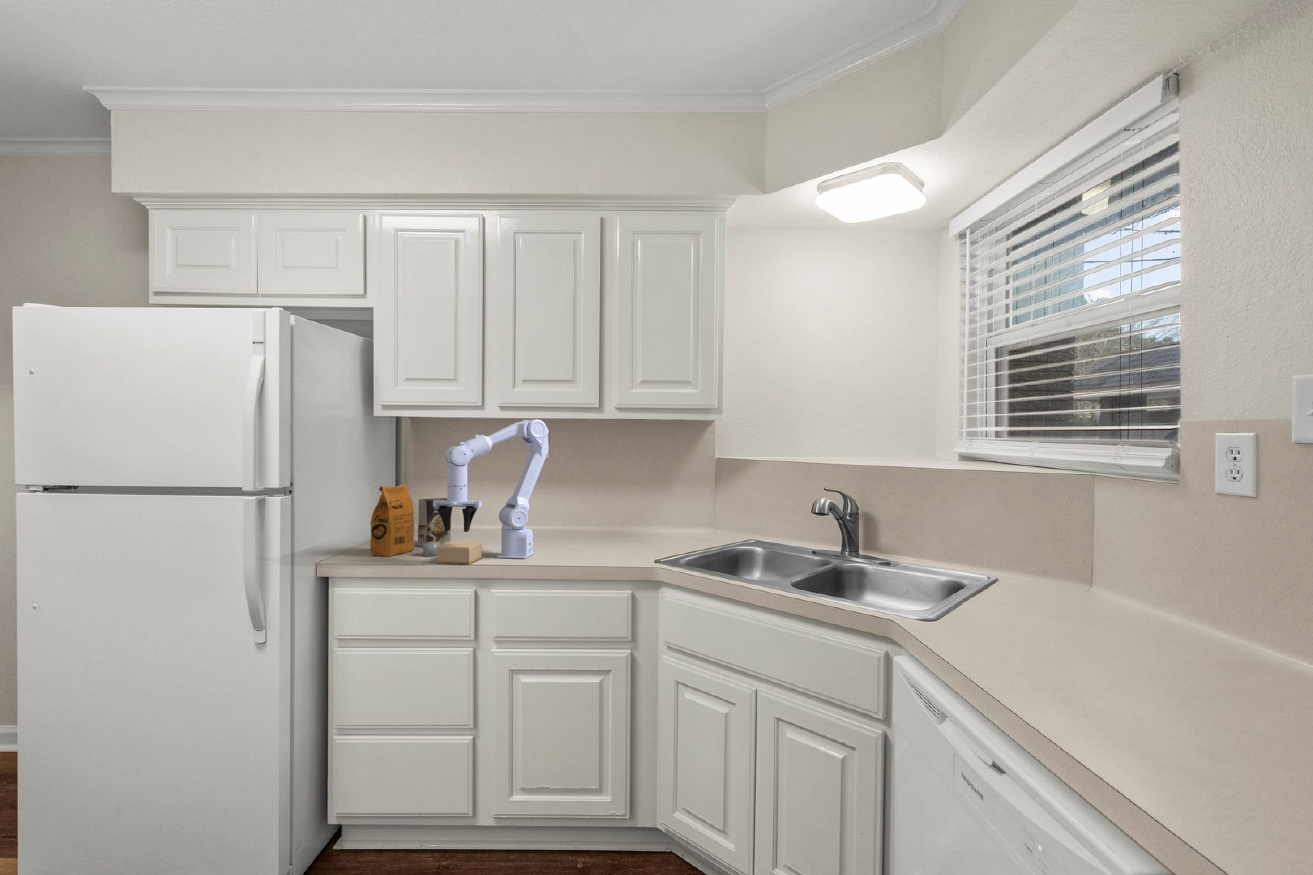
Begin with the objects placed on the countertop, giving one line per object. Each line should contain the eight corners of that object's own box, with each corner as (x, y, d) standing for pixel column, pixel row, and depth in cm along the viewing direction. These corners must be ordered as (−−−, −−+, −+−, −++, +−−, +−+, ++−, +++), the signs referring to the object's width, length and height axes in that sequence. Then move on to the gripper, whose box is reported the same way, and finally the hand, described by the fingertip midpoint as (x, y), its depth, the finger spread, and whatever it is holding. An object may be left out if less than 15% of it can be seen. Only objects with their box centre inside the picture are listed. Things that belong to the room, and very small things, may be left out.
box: (481, 558, 187) (482, 544, 187) (469, 564, 178) (469, 549, 178) (451, 557, 188) (451, 543, 188) (437, 563, 179) (437, 548, 179)
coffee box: (427, 547, 204) (428, 500, 204) (417, 545, 208) (417, 499, 208) (451, 544, 211) (451, 498, 211) (440, 542, 215) (441, 497, 215)
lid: (482, 543, 187) (482, 542, 187) (469, 549, 178) (469, 547, 177) (451, 542, 188) (451, 541, 188) (436, 548, 179) (436, 546, 179)
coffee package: (364, 555, 190) (365, 486, 190) (395, 548, 202) (395, 483, 202) (388, 557, 187) (389, 487, 187) (418, 550, 198) (418, 484, 198)
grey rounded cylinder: (442, 554, 194) (442, 541, 194) (435, 556, 189) (436, 543, 189) (427, 553, 194) (427, 541, 194) (420, 556, 189) (420, 543, 189)
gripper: (428, 486, 178) (427, 532, 178) (474, 487, 176) (474, 533, 176) (439, 484, 185) (439, 528, 185) (484, 485, 183) (484, 530, 183)
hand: (457, 531), depth 181 cm, fingers open, 5 cm apart
